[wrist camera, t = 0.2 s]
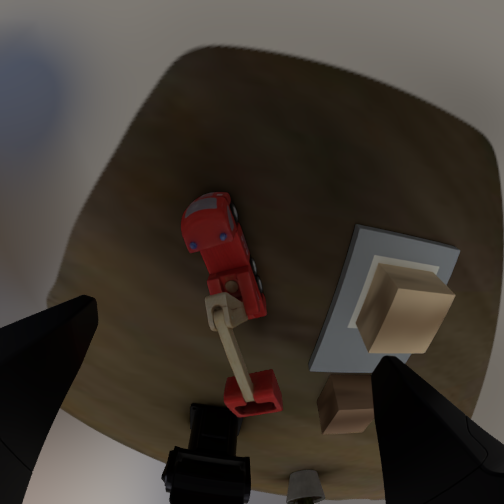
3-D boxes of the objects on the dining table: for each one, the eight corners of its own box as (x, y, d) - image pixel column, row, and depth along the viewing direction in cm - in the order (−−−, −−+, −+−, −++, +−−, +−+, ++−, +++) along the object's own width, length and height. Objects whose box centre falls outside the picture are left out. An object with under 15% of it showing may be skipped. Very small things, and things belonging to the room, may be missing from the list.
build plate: (397, 365, 27) (399, 372, 27) (308, 364, 27) (309, 371, 26) (454, 246, 21) (460, 250, 21) (355, 223, 21) (360, 228, 20)
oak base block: (407, 326, 24) (424, 353, 20) (355, 322, 24) (368, 353, 20) (432, 271, 21) (455, 295, 18) (378, 262, 21) (398, 288, 18)
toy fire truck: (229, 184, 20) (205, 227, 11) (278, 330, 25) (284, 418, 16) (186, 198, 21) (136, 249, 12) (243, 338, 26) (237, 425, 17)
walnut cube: (353, 400, 30) (362, 432, 26) (316, 400, 30) (322, 434, 25) (370, 374, 28) (382, 407, 23) (330, 374, 28) (338, 409, 23)
